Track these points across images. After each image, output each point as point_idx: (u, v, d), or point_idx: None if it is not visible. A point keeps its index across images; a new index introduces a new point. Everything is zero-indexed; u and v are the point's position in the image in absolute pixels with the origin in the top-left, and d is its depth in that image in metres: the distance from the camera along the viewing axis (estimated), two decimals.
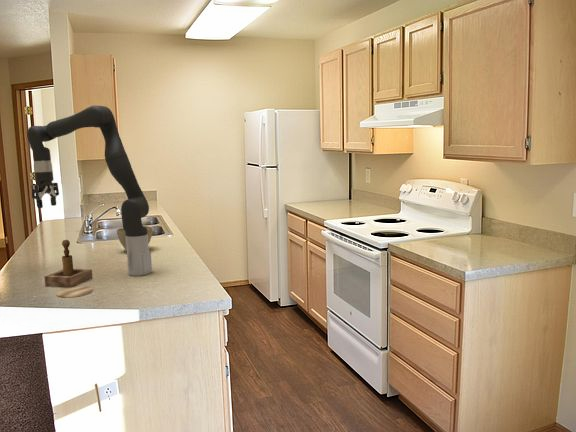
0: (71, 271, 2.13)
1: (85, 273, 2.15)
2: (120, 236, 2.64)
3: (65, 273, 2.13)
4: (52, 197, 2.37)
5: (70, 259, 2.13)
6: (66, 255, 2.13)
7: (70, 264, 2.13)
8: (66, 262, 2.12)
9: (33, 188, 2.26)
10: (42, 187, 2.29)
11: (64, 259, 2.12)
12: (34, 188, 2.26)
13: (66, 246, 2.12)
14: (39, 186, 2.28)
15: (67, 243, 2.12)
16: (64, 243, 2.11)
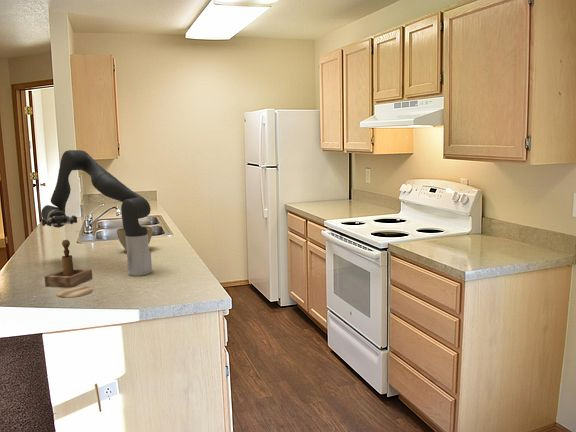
0: (71, 271, 2.13)
1: (85, 273, 2.15)
2: (120, 236, 2.64)
3: (65, 273, 2.13)
4: None
5: (70, 259, 2.13)
6: (66, 255, 2.13)
7: (70, 264, 2.13)
8: (66, 262, 2.12)
9: None
10: None
11: (64, 259, 2.12)
12: None
13: (66, 246, 2.12)
14: None
15: (67, 243, 2.12)
16: (64, 243, 2.11)
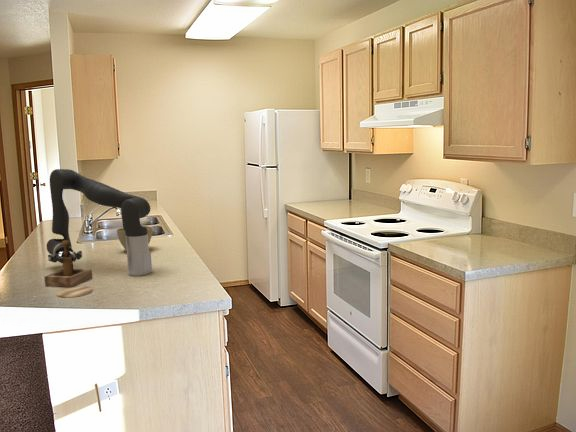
0: (71, 271, 2.13)
1: (85, 273, 2.15)
2: (120, 236, 2.64)
3: (65, 273, 2.13)
4: None
5: (70, 259, 2.13)
6: (66, 255, 2.13)
7: (70, 264, 2.13)
8: (66, 262, 2.12)
9: (49, 258, 2.15)
10: (58, 254, 2.18)
11: (64, 259, 2.12)
12: (49, 257, 2.15)
13: (66, 246, 2.12)
14: (54, 255, 2.18)
15: (67, 243, 2.12)
16: (64, 243, 2.11)
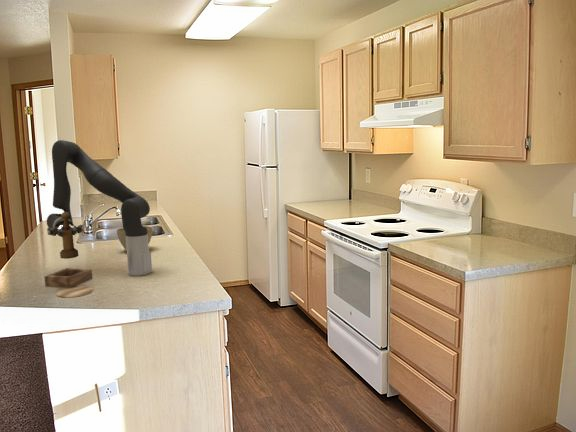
0: (71, 245, 2.03)
1: (85, 273, 2.15)
2: (120, 236, 2.64)
3: (65, 247, 2.02)
4: (72, 231, 2.05)
5: (70, 232, 2.02)
6: (66, 228, 2.02)
7: (70, 237, 2.02)
8: (66, 235, 2.01)
9: (48, 232, 2.05)
10: (57, 227, 2.07)
11: (64, 232, 2.01)
12: (48, 230, 2.05)
13: (66, 218, 2.01)
14: (54, 228, 2.07)
15: (67, 215, 2.01)
16: (64, 215, 2.01)
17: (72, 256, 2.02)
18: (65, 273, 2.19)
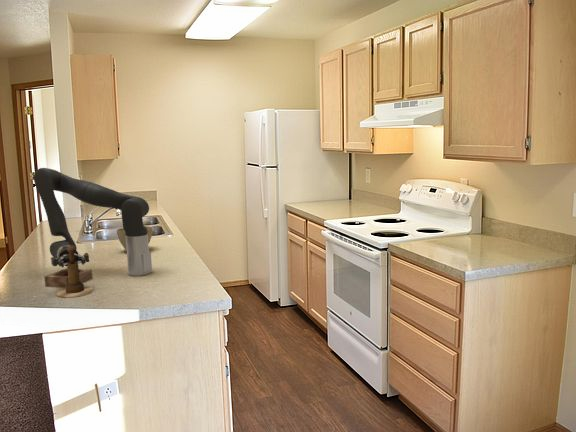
0: (77, 279, 1.98)
1: (85, 273, 2.15)
2: (120, 236, 2.64)
3: (70, 281, 1.97)
4: (81, 260, 2.01)
5: (76, 266, 1.98)
6: (72, 262, 1.97)
7: (76, 271, 1.98)
8: (72, 269, 1.97)
9: (51, 261, 2.01)
10: (62, 257, 2.03)
11: (69, 266, 1.96)
12: (51, 260, 2.01)
13: (72, 252, 1.97)
14: (58, 258, 2.03)
15: (73, 249, 1.96)
16: (70, 249, 1.96)
17: (78, 290, 1.98)
18: (65, 273, 2.19)
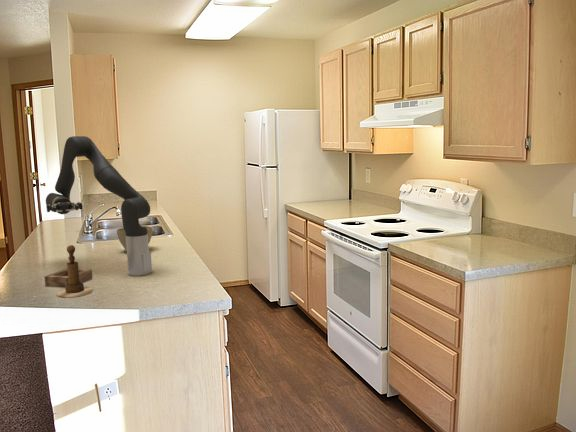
0: (77, 279, 1.98)
1: (85, 273, 2.15)
2: (120, 236, 2.64)
3: (70, 281, 1.97)
4: (75, 207, 2.23)
5: (75, 266, 1.98)
6: (71, 262, 1.97)
7: (75, 271, 1.98)
8: (71, 269, 1.97)
9: None
10: None
11: (69, 266, 1.96)
12: (46, 207, 2.22)
13: (71, 252, 1.97)
14: None
15: (72, 249, 1.96)
16: (69, 249, 1.96)
17: (78, 290, 1.98)
18: (65, 273, 2.19)
